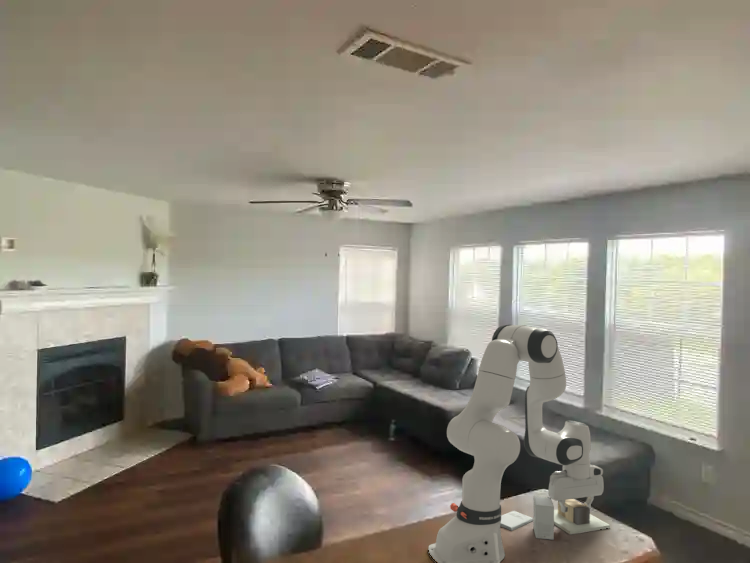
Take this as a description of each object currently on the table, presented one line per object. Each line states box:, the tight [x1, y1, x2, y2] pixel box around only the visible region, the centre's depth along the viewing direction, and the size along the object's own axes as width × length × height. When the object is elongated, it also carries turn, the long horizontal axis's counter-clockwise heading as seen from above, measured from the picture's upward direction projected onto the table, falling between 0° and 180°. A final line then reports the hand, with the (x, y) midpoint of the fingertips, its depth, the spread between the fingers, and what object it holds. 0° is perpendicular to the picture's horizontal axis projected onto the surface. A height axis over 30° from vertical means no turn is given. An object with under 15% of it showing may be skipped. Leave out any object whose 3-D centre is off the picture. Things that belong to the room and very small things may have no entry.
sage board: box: [554, 508, 611, 535], centre depth 183 cm, size 16×16×1 cm
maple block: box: [557, 499, 591, 525], centre depth 183 cm, size 5×5×10 cm
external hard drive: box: [500, 510, 533, 531], centre depth 182 cm, size 2×8×12 cm
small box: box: [532, 495, 555, 541], centre depth 173 cm, size 8×6×10 cm
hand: (575, 510), depth 182 cm, fingers open, 8 cm apart
